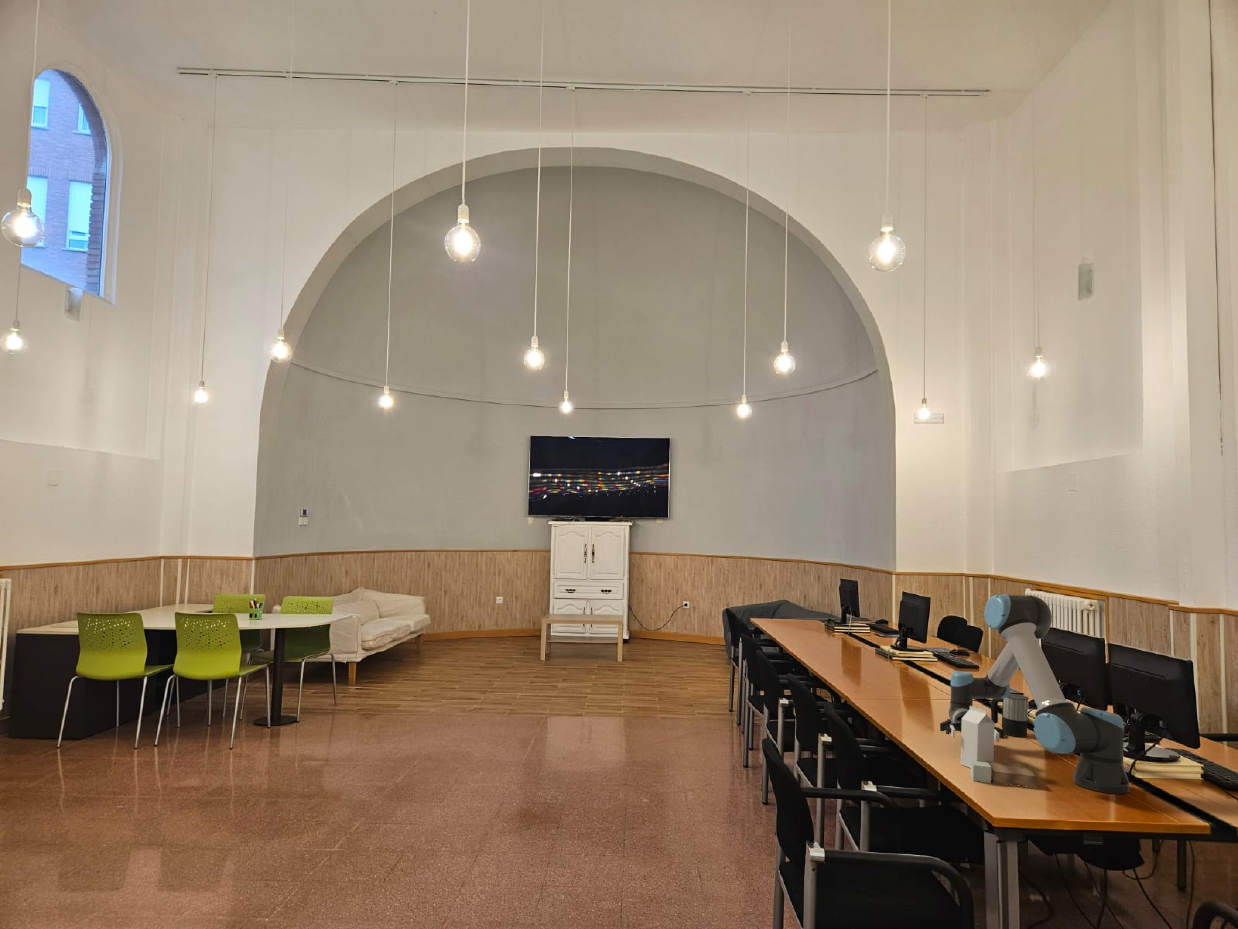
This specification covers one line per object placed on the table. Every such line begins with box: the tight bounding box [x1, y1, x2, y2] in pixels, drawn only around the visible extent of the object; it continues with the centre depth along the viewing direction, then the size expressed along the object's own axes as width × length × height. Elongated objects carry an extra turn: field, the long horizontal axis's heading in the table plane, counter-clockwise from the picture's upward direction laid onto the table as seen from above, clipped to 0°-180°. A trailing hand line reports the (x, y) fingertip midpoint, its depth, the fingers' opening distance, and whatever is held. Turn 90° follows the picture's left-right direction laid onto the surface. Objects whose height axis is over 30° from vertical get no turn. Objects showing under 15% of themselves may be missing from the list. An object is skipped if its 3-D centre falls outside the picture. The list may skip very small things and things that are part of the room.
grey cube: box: [969, 761, 992, 784], centre depth 257 cm, size 5×5×5 cm
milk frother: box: [990, 693, 1030, 737], centre depth 319 cm, size 14×16×15 cm
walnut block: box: [987, 761, 1037, 788], centre depth 259 cm, size 12×12×4 cm
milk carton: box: [960, 705, 995, 769], centre depth 272 cm, size 7×7×19 cm
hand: (975, 735), depth 273 cm, fingers open, 13 cm apart
